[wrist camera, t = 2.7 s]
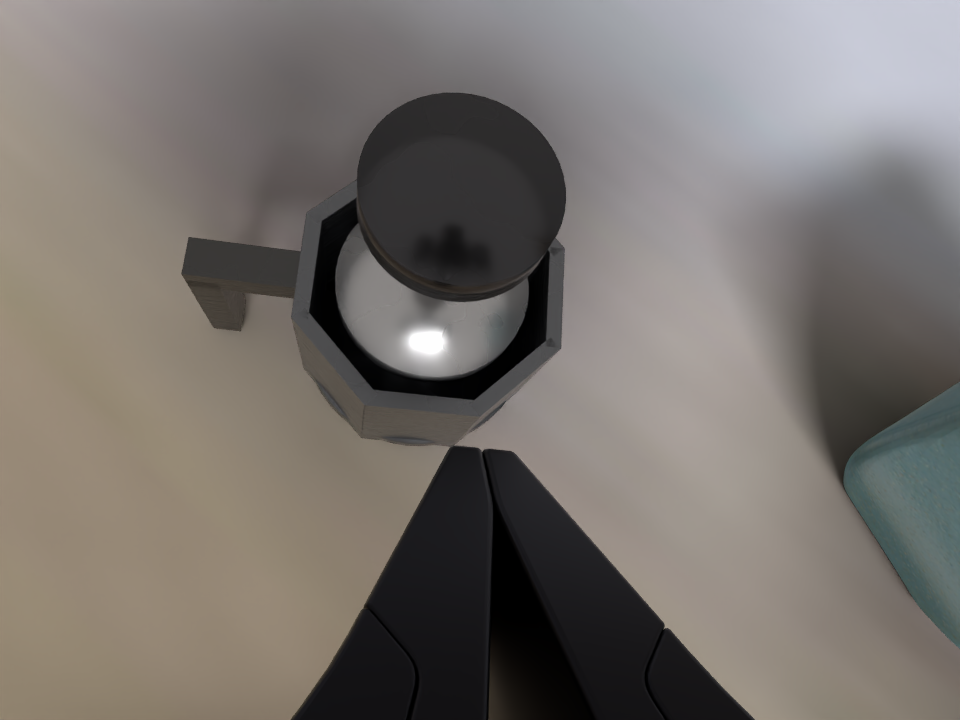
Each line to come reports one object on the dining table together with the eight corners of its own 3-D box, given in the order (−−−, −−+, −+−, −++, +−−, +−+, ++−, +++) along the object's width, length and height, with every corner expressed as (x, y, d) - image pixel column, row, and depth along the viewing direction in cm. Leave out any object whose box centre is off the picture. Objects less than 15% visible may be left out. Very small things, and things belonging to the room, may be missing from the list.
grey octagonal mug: (517, 455, 23) (562, 429, 18) (198, 426, 21) (153, 388, 16) (528, 252, 25) (570, 179, 20) (236, 212, 23) (206, 123, 18)
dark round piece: (518, 392, 19) (587, 324, 13) (324, 371, 18) (312, 291, 12) (527, 218, 20) (593, 93, 15) (347, 192, 19) (345, 51, 14)
